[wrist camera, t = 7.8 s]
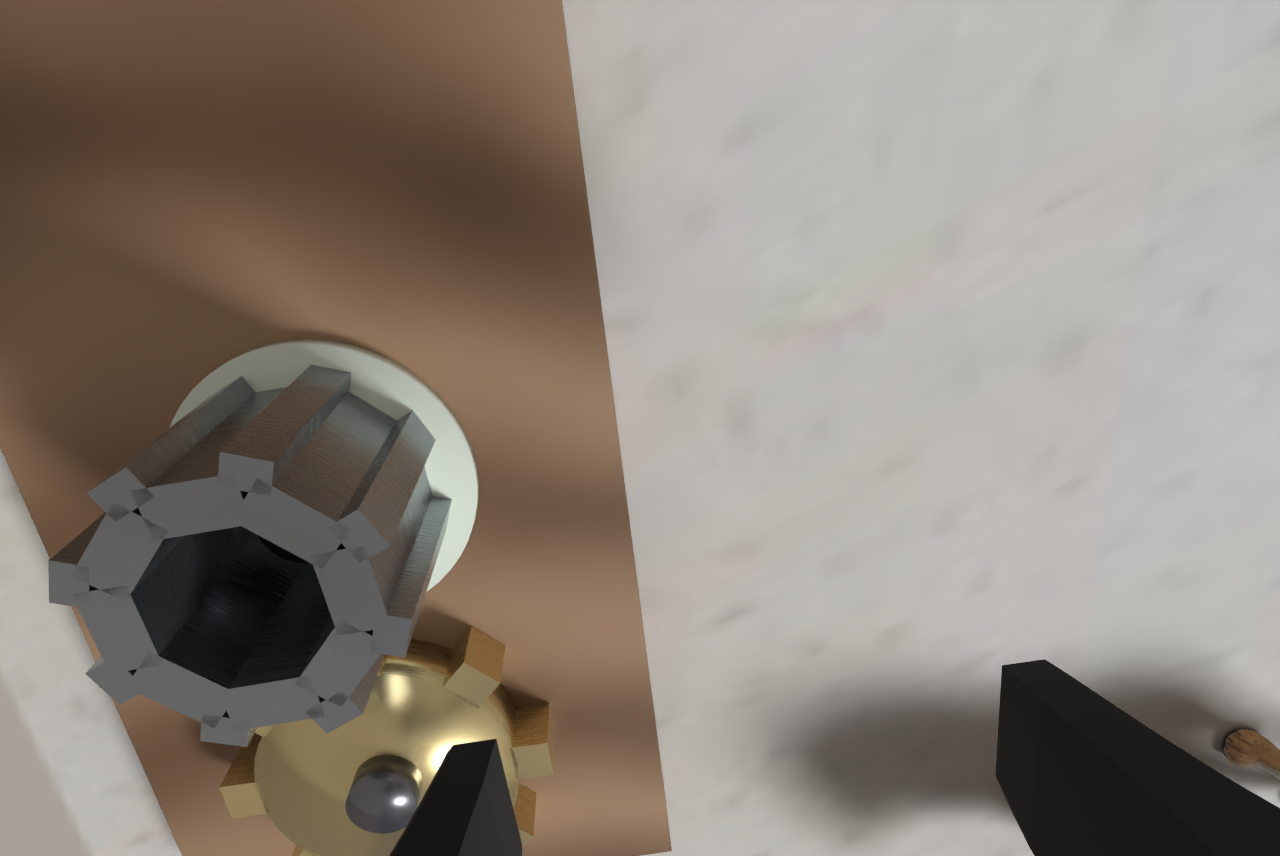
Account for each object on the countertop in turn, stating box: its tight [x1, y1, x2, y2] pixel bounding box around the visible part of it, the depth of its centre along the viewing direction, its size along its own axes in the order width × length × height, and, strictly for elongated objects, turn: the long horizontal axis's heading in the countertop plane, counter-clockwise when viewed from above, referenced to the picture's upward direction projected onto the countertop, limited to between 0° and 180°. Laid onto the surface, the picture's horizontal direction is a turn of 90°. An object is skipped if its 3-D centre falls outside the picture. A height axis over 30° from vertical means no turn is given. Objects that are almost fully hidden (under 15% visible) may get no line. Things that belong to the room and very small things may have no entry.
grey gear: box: [49, 364, 452, 747], centre depth 15 cm, size 6×6×4 cm
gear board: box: [0, 0, 672, 856], centre depth 18 cm, size 23×13×4 cm, turn 6°
